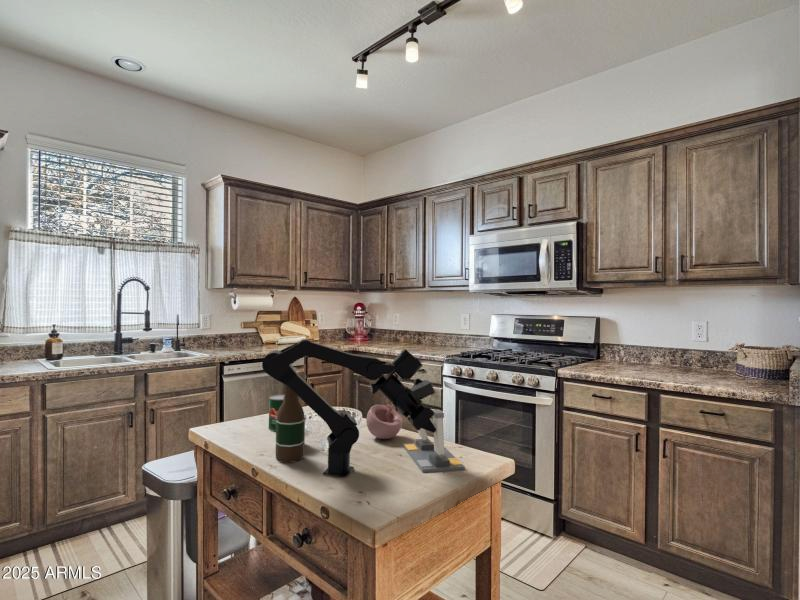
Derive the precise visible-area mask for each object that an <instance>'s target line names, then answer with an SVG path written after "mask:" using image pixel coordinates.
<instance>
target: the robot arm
mask: <svg viewBox="0 0 800 600" xmlns="http://www.w3.org/2000/svg"><path fill="white" fill-rule="evenodd" d="M306 356H307V357H309V358H314V359H317V360H319V361H324V362H327V363H329V364H334V365H336V366H340V367H343V368H346V369H349V370H351V371H352V372H354V373H356V374H357V375H359V376H361V377H364V378H365V379H367V380H369V381H373V382H369V385H370V390H369V391H370V392H371V394H372V395H375V394H376V393H377V392H378V391H379V392H380V393H381V394H383V396H384V397H385V398H386V399H387V400H388V401H389V402H390V403H391V404H392V405H393V407H394V406H395V408H396V411H397V412H398V413H399V414H400V415H402V416H403V417H405V418H407V421H408V422H409V423H410V424H411V426H413V428H415V429H416V430H417V431H418V430H420V429H421V428H422V429H425V431H428V432H431V433H432V434H434V432H435V431H436V428H435V427H434V425H433V421H431V418H433V415H434V412H433V411H432V410H433V409H432V408H430V406H428V405H427V404H424V403H423V401H422V400H423V399H425V398H427V397H429V396H432V395H434V394H435V393H436V391H435V389H434V386H433V384H432V382H431V381H429V380H428V379H423V380H421V378H418V377H417V378H415V379H414V380H413V385H412V386H411V387H410V388H409V387H408V386H407V385H404V383H403V382H402V381H405V380H406V381H407V380H408V381H410V380H411V379H412V378H413V377H414V376H415V375H416V374H417V372H418V371H419V370H421V368H422V367H423V366H424V365H423V364H422V362H421V361H420V360H419V359H418V357H415V356H414V355H413V354H412V353H410V351H408V350H407V349H406V348H404V349H402V350H401V352H400V353H399V355H397V357H395V358H394V359H393V361H392V362H390V361H388V360H386V361H383V360H380V359H379V358H377V357H376V356H373V355H367V354H358V353H349V352H346V351H343V350H340V349H336V348H334V347H331V346H328V345H325V344H324V345H323V344H321V343H318V342H314V341H312V340H310V339H308V338H304V339H303V338H302V339H301V340H299V341H298V342H296V343H293V344H292V345H289V346H287V347H285V348H283V349H281V350H276V349H274V350H271V351H268V352H267V353H266V355H265V356H264V358H263V360H262V363H261V364H262V366H261V367H262V370H263V372H264V373H266V374H267V375H268V376H270V377H271V378H273V379H275V380H276V381H277V382H280V383H281V384H283V385H284V386H285V385H287V386H288V387H289V388H290V389H291V390H292V391H293V392H294V393H296V394H297V395H298V398H300V399H301V401H303V402H304V403H305V404H306V405H307V406H308V407H309V408H310V409H311V410H312V411H313V412H314V413H316V414H317V415H318V416H319V417H320V419H322V420H323V421H324V422H325V424H326V425H327V426H328V428H329V429H330V431H331V433H329V434H328V435H327V442H328V443H327V444H328V448H327V453H328V454H327V468H326V469H325V470H324V471H323V472H322V475H323V476H324V475H325V476H333V477H340V478H347V477H348V476H349V475H350V474H351V473H352V471H353V470H355V467H354V466H351V463H350V461H351V451H352V448H353V446H354V444H356V443H357V442H358V440H359V437H360V431H359V428H358V426H357V425H358V423H357V420H356V418H355V417H354V416H351V415H350V414H349V413H348V411H347V410H346V409H345V408H343V409H342V411H339V410H337V409H335V408H334V407H333V406H332V405H331V404H330V402H328V401H327V400H326V399H325V398H324V397H323V396H321V395H320V394H319V392H318V391H316V390H315V388H314V387H312V386H311V385H310V384H309V382H307V381H306V380H305V379H304V378H303V377H302V376H301V375H300V374H299V373H298V372H297V370H296V369H295V368H294V365H293V363H296V361H298V360H301V359H302V358H303V357H306ZM395 374H396V375H397V376H398V377H396V375H395ZM399 378H400V379H401V380H402V381H400V379H399Z"/></svg>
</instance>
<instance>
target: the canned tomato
mask: <svg viewBox="0 0 800 600" xmlns="http://www.w3.org/2000/svg"><path fill="white" fill-rule="evenodd" d="M268 398H269V402H268V406H269V407H268V430H269V431H271V432H276V417H277V412H278V410H279V408H280V406H281V405H282V403H283V400H284V394H273V395H270V396H269V397H268Z"/></svg>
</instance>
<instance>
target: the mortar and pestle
mask: <svg viewBox="0 0 800 600" xmlns="http://www.w3.org/2000/svg"><path fill="white" fill-rule="evenodd" d="M403 423H404V420H403V418H402V416H401V413H400V412H399V411H398V410H396V409H394V405H393V406H392V405H391V404H387V405H386V404H377V403H376V404H375V405H374V404H373V406H371V407H370V408H369V410H368V412H367V415H366V427H367V429H368V431H369V432H370V434H371V435H372V436H373V437H375V438H377V439H378V440H379V439H380V440H388V439H392V438H394V437H395V436H396V435H398V434H399V432H400V430H401V429H402V426H403Z"/></svg>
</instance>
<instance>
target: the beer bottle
mask: <svg viewBox="0 0 800 600" xmlns="http://www.w3.org/2000/svg"><path fill="white" fill-rule="evenodd" d="M283 395H284V400H283V403H282V405H281V406H280V408H279V410H278V412H277V419H276V431H275V459H276V461H278V462H279V461H280V463H286V462H287V463H289V464H291V463H295V461H296V462H299V461H301V460H302V459H303V457H304V452H305V451H304V450H305V444H304V415H305V411H304V408H303V406H302V405H301V403H300V402H299V396H298V395H297V394H296V393H294V392H293V391H292V390H291V389H290V388H289V387H288V386H287V385H285V384H284V394H283ZM287 463H286V464H287Z"/></svg>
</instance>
